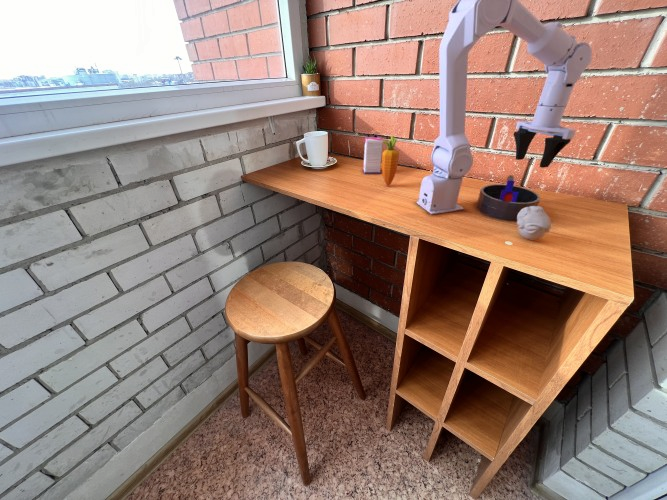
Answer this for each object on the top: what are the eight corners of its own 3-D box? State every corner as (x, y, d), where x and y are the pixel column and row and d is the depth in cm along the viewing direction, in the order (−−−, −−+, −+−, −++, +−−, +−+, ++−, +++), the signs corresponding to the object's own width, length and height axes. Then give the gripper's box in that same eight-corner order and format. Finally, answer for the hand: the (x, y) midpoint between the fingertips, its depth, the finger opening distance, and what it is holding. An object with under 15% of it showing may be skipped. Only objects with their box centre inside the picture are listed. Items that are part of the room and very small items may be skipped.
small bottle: (510, 214, 74) (519, 183, 73) (512, 213, 71) (522, 180, 70) (495, 211, 76) (504, 181, 75) (496, 210, 72) (505, 178, 71)
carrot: (388, 190, 88) (393, 139, 80) (376, 186, 91) (379, 136, 83) (398, 186, 91) (404, 136, 82) (386, 182, 94) (390, 134, 86)
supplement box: (380, 173, 101) (383, 140, 95) (364, 174, 102) (365, 140, 95) (378, 169, 106) (381, 136, 100) (363, 169, 107) (364, 137, 100)
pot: (502, 224, 67) (508, 206, 65) (465, 203, 78) (469, 187, 76) (546, 216, 70) (553, 199, 68) (505, 197, 81) (510, 182, 79)
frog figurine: (529, 229, 65) (540, 200, 61) (552, 244, 59) (566, 214, 56) (504, 231, 65) (514, 202, 61) (525, 247, 59) (537, 216, 55)
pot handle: (511, 191, 76) (513, 186, 75) (505, 190, 77) (507, 185, 76) (512, 180, 84) (514, 174, 83) (506, 179, 85) (508, 174, 84)
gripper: (595, 107, 62) (569, 169, 70) (538, 101, 74) (521, 155, 81) (571, 109, 61) (546, 172, 68) (516, 103, 73) (500, 157, 80)
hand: (531, 163), depth 75 cm, fingers open, 7 cm apart
